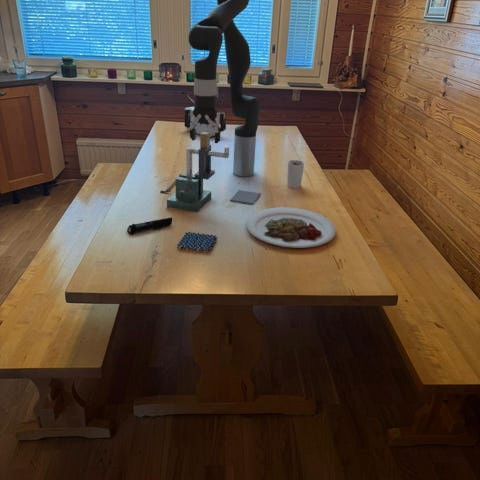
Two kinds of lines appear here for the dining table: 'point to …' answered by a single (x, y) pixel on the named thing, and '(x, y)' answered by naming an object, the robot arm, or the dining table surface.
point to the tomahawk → (169, 187)
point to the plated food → (290, 227)
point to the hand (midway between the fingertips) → (205, 141)
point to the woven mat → (197, 242)
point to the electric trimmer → (149, 225)
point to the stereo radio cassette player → (202, 127)
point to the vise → (192, 186)
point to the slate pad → (245, 197)
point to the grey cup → (295, 173)
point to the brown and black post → (204, 157)
